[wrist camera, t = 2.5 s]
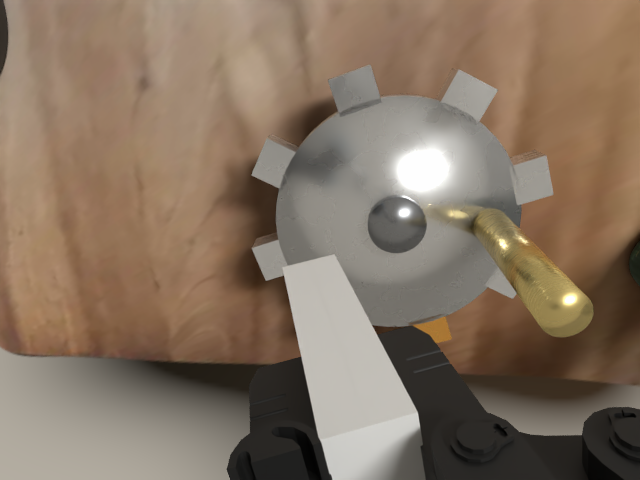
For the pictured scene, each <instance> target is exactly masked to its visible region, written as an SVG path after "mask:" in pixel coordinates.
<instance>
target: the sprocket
mask: <svg viewBox="0 0 640 480" xmlns="http://www.w3.org/2000/svg"><path fill="white" fill-rule="evenodd" d="M328 82H329V85H330V88H331V91H332V94H333V97H334V100H335V103H336V106H337V109H338V111H337V112H335V113H334V114H332V115H331V116H329V117H328V118H326V119H325V120H324V121H322V122H321V123H320V124H319V125H318V126H317V127H316V128H314V129H313V130H312V131H311V133H310V134H309V135H308V136H307V137H306V138H305V139H304V141H303V142H302V143H301V145H300V146H299V147H298V146H296V145H294V144H292V143H290V142H288V141H286V140H284V139H282V138H280V137H278V136H276V135H273V134H271V135H270V136H269V137H268V138H267V139H266V142H265V144H264V146H263V149H262V151H261V153H260V156H259V158H258V161H257V163H256V165H255V168H254V170H253V172H252V176H254V177H256V178H258V179H260V180H262V181H264V182H267V183H269V184H271V185H273V186H275V187H277V188H279V192H278V198H277V204H276V227H277V232H275V233H272V234H268V235H265V236H262V237H259V238H257V239H256V241H255V243H254V245H253V246H252V250H253V253H254V255H255V257H256V259H257V262H258V264H259V266H260V269H261V271H262V273H263V275H264V278H265V280H266V281H267V280H270V279H274V278H277V277H280V276H284V273H283V268H282V267H286V266H290V265H294V264H298V263H302V262H306V261H310V260H314V259H317V258H321V257H325V256H329V255H333V254H335V256H336V258H337V260H338V262H339V264H340V266H341V268H342V269H343V271H344V273H345V275H346V277H347V279H348V281H349V283H350V285H351V287H352V288H353V290H354V292H355V294H356V296H357V298H358V300H359V302H360V304H361V305H362V307H363V309H364V311H365V313H366V315H367V317H368V319H369V321H370V323H371V324H372V325H375V326H386V327H402V326H411V325H412V326H414V327H416V328H418V329H420V330H422V331H423V332H425V333H427V334H429V335H430V336H431V337H432V339H433V340H434V341H435V343H439V342H442V341H446V340H450V339H452V338H451V334H450V331H449V328H448V324H447V321H446V318H445V316H447V315H449V314H451V313H453V312H455V311H457V310H459V309H461V308H462V307H464V306H465V305H467V304H468V303H470V302H471V301H473V300H474V299H475V298H476V297H477V296H479V295H480V294H481V293H482V292H483V291H484V290H485V289H486V288H487V287H489V288H491V289H493V290H495V291H497V292H499V293H502V294H504V295H506V296H508V297H510V298H512V299H513V298H514V296H515V295H516V294H518V296H519V297H520V299H521V300H522V301H523V303H524V304H525V306H526V307H527V308H528V310H529V311H530V313H531V314H532V315H533V317H534V318H535V320H536V321H537V323H538V324H539V325H540V327H541V328H542V329H543V330H544V331H545V332H546V333H547V334H549V335H551V336H555V337H569V336H572V335H575V334H577V333H579V332H581V331H582V330H584V329H585V328H586V327H587V326H588V325H589V323H590V322H591V320H592V317H593V313H594V309H593V304H592V302H591V301H590V299H589V298H588V297H587V296H586V295H585V294H584V293H583V292H582V291H581V290H580V289H579V288H578V287H577V286H576V285H575V284H574V283H573V282H572V281H571V280H570V279H569V278H568V277H567V276H566V275H565V274H564V273H563V272H562V271H561V270H560V269H559V268H558V267H557V266H556V265H555V264H554V263H553V262H552V261H551V260H550V259H549V258H548V257H547V256H546V255H545V254H544V253H543V252H542V251H541V250H540V249H539V248H538V247H537V246H536V245H535V244H534V243H533V242H532V241H531V240H530V239H529V238H528V237H527V236H526V235H525V234H524V233H523V232H522V231H521V230H520V229H519V227H520V219H521V204H524V203H527V202H531V201H534V200H537V199H541V198H544V197H547V196H551V195H553V189H552V184H551V178H550V173H549V167H548V162H547V156H546V155H545V154H543V153H541V152H539V151H537V150H532V151H529V152H526V153H523V154H520V155H516V156H513V157H510V158H509V156H508V154H507V152H506V150H505V149H504V148H503V146H502V145H501V144H500V142H499V141H498V139H497V138H496V137H495V136H494V135H493V134H492V133H491V132H490V131H489V130H488V129H487V128H486V127H485V126H484V125H483V124H482V123H480V122H479V121H480V119H481V117H482V116H483V114H484V112H485V111H486V109H487V107H488V106H489V104H490V102H491V101H492V99H493V97H494V96H495V94H496V92H497V91H498V90H497V89H495V88H493V87H491V86H489V85H488V84H486V83H484V82H482V81H480V80H478V79H476V78H474V77H472V76H471V75H469V74H467V73H465V72H463V71H461V70H459V69H452V70H451V72H450V74H449V75H448V77H447V79H446V81H445V83H444V84H443V86H442V88H441V90H440V92H439V94H438V95H437V97H436V99H434V98H430V97H425V96H421V95H412V94H388V95H381V96H380V95H379V91H378V88H377V85H376V81H375V78H374V75H373V71H372V68H371V65H370V64H368V65H365V66H363V67H360V68H357V69H355V70H352V71H349V72H347V73H344V74H341V75H339V76H336V77H333V78H331V79H329V80H328Z"/></svg>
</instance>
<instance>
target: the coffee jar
mask: <svg viewBox="0 0 640 480" xmlns="http://www.w3.org/2000/svg"><path fill="white" fill-rule="evenodd" d="M629 268H630V272H631V275H632V277H633V278H634V280H635V281H636V282H637V284H638V285H639V286H640V241H639V242H638V244H637V245H636V246H635V248H634V249H633V251H632V253H631V256H630V260H629Z"/></svg>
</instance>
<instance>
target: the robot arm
mask: <svg viewBox="0 0 640 480" xmlns="http://www.w3.org/2000/svg"><path fill="white" fill-rule="evenodd" d="M7 39H8V30H7V18H6V12H5V7H4V2H3V0H0V72H1V69H2V66H3V63H4V60H5V56H6V50H7ZM282 268H283V273H284V277H285V282H286V287H287V292H288V296H289V301H290V306H291V310H292V315H293V320H294V324H295V329H296V334H297V339H298V343H299V348H300V353H301V357H298V358H295V359H291V360H287V361H284V362H280V363H276V364H272V365H269V366H265V367H261V368H258V370H257V372H256V373H255V375H254V377H253V379H252V381H251V383H250V385H249V399H250V400H249V401H250V421H251V422H250V434H248V435H247V436H246V437H245V438H243V439H242V440H241V441H240V442H239V444H238V445H237V447H236V448H235V449H234V451H233V452H232V454H231V455H230V459H229V463H228V467H227V472H228V474H229V477H230V480H640V409H635V408H630V407H614V408H613V407H612V408H607V409H603V410H600V411H597V412H594V413H593V414H592V415H591V416H590V417H589V418H588V419H587V420H586V421H585V422H584V427H583V433H582V435H574V436H541V435H530V434H525V433H521V432H519V431H518V430H517V429H515V428H514V427H513V426H512V425H511V424H510V423H509V422H508V421H506V420H504V419H502V418H500V417H497V416H495V415H493V414H491V413H487V412H486V411H485V410H484V408H483V407H482V406H481V404H480V403H479V402H478V400H477V399H476V397H475V396H474V395H473V393H472V392H471V391H470V389H469V388H468V386H467V385H466V384H465V383H464V381H463V380H462V378H461V377H460V376H459V374H458V373H457V371H456V370H455V369H454V367H453V366H452V365H451V364H450V363H449V360H448V359H447V358H446V356H445V355H444V354H443V352H441V351H440V348H439V347H438V345H437V344H436V343H435V341H434V340H433V339H432V337H431V336H430V335H429V334H427V333H425V332H423V331H422V330H420V329H418V328H416V327H414V326H412V325H411V326H408V327H404V328H400V329H396V330H393V331H389V332H385V333H382V334H378V335H377V334H376V332H375V330H374V328H373V326H372V324H371V323H370V321H369V319H368V317H367V315H366V313H365V311H364V309H363V307H362V305H361V304H360V302H359V300H358V298H357V296H356V294H355V292H354V290H353V288H352V287H351V285H350V283H349V281H348V279H347V277H346V275H345V273H344V271H343V269H342V268H341V266H340V264H339V262H338V260H337V258H336V256H335V254H333V255H329V256H325V257H321V258H317V259H314V260H310V261H306V262H302V263H298V264H294V265H290V266H286V267H282Z"/></svg>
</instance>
